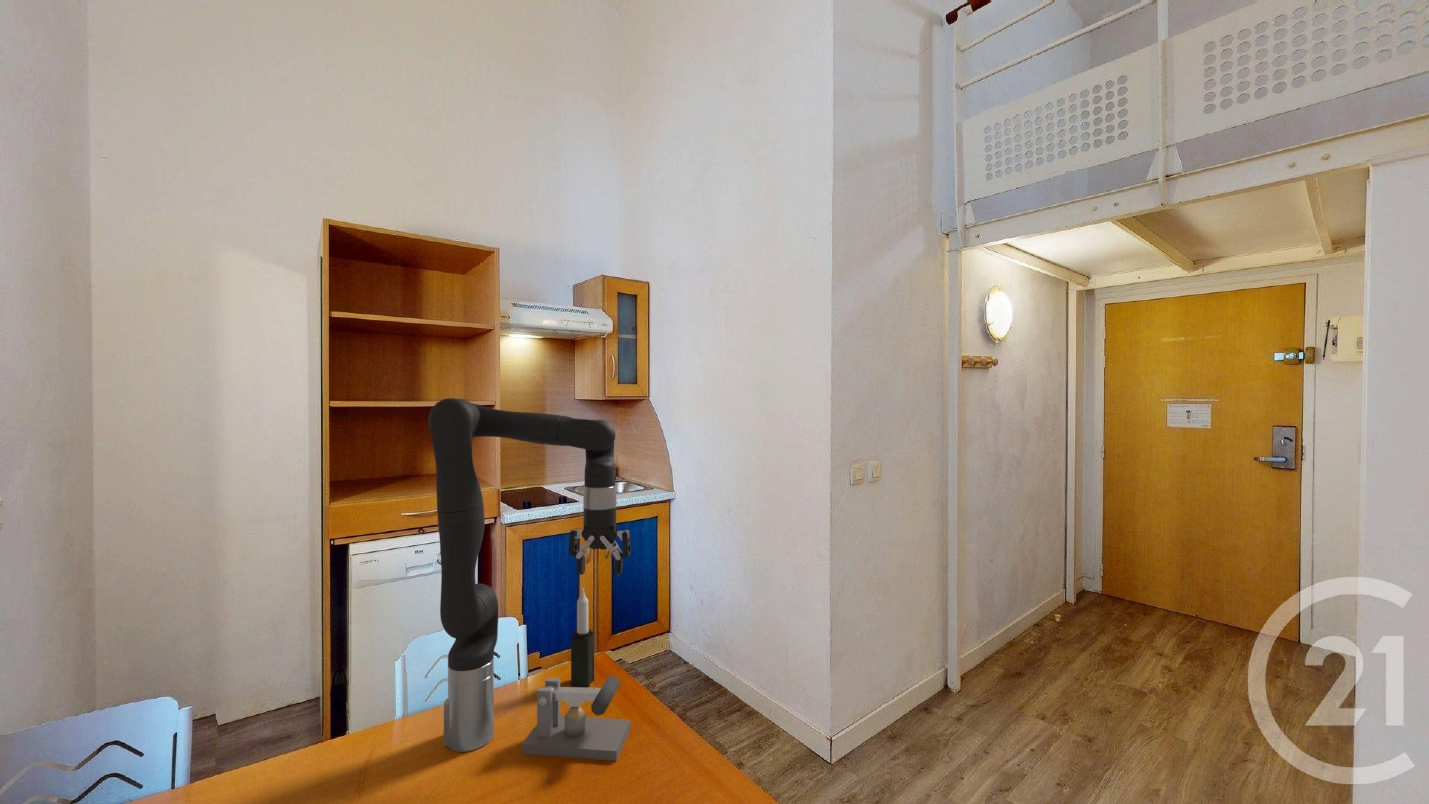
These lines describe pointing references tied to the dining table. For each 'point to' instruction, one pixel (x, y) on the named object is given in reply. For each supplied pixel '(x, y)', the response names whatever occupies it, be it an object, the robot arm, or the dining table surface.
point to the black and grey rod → (582, 647)
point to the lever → (588, 695)
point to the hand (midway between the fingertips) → (599, 574)
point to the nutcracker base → (584, 745)
